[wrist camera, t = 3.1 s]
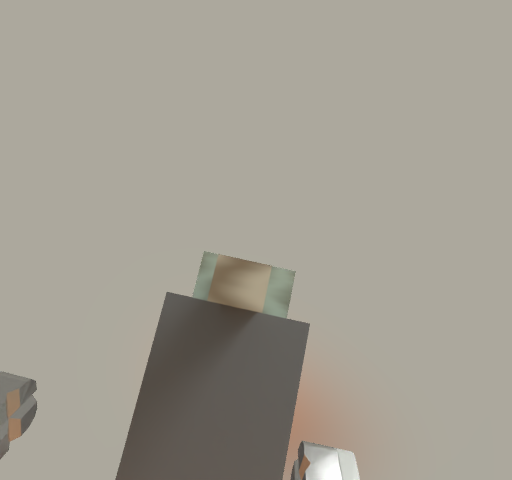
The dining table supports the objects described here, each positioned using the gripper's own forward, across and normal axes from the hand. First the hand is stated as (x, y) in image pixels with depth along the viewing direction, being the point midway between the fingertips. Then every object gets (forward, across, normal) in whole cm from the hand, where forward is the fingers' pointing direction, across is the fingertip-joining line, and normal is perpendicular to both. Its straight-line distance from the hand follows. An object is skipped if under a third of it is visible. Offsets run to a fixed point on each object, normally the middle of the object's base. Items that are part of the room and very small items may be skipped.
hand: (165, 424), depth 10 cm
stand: (+10, +1, -32) cm, 33 cm away
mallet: (+19, +1, -7) cm, 20 cm away
